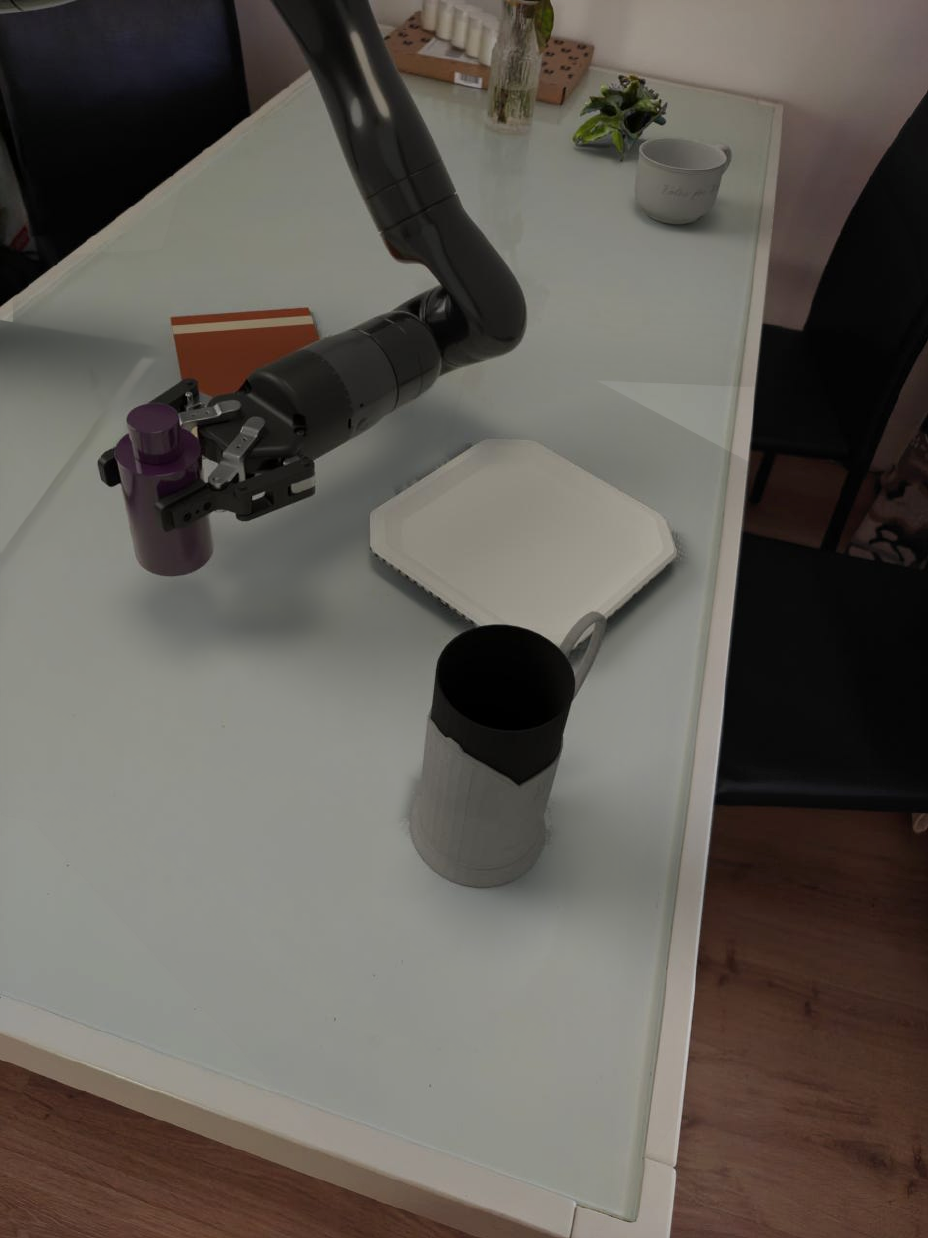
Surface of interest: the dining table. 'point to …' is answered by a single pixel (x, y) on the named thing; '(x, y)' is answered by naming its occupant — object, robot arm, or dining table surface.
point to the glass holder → (495, 749)
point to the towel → (237, 345)
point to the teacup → (679, 177)
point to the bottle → (161, 489)
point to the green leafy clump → (621, 113)
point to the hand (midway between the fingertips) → (131, 495)
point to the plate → (521, 539)
